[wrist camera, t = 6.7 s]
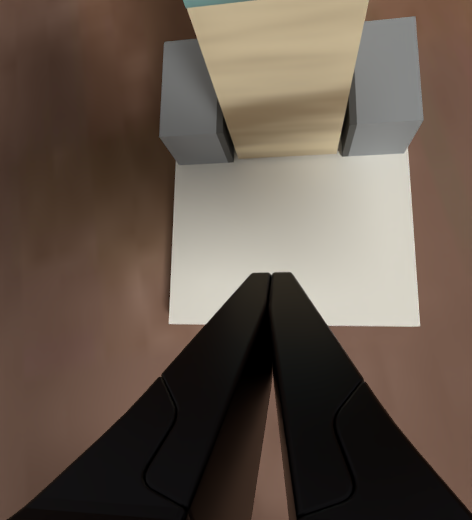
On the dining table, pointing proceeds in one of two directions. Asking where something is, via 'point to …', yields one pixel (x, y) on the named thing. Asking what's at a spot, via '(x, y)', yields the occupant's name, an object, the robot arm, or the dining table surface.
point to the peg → (280, 70)
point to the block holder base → (299, 193)
